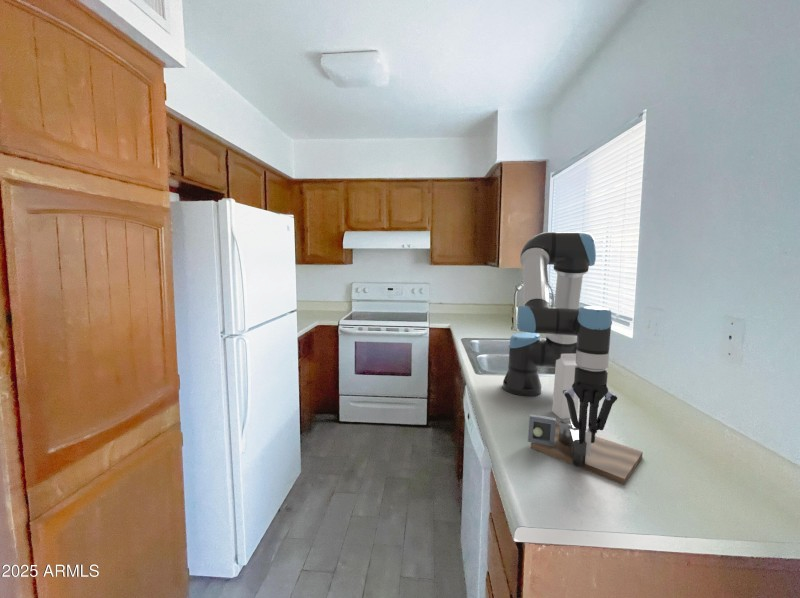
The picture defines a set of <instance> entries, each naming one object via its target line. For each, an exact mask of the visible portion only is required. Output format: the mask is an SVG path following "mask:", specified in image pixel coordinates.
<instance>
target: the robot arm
mask: <svg viewBox="0 0 800 598" xmlns="http://www.w3.org/2000/svg"><path fill="white" fill-rule="evenodd" d="M596 249H597V248H596V242H595V238H594V236H593V234H591V233H590V232H582V231H556V232H555V231H545V232H542V233H539V234H536V235H534V236H532V237H531V238H530V239H529V240H528V241H527V242H526V243H525V244H524V246H523V247H522V250H521V252H520V256H519V257H520V264H521V266H522V267H523V305H521V306H519V307H518V308H517V315H516V316H517V317H516V318H517V319H516V329H517V330H518V331H519V332H518V333H514V334H512V335H511V336H510V338H509V345H508V348H509V349H508V350H509V352H508V353H509V354H508V364H507V365H508V366H507V367H508V368H507V371H506V373H505V376H504V379H503V381H502V389H503V390H504V391H506V392H507V393H511V394H513V395H518V396H524V397H526V396H528V397H534V396H538V395H540V394H541V393H542V383H541V379H540V376H539V367H541V368H550V369H552V368H553V369H555V367H556V360H558V359H560V358H561V354H576V364H577V366H576V367H575V378H574V384H573V385H572V388H571V389H569V390H564V391H563V394H564V396H565V397H566V399H567V403H568V408H569V413H570V417H571V418H570V419H571V422H572V424H573V426H574V427H575V428H576V429H579V436H578V438H579V440H583V441H585V442H586V443H587V448H586V456H590V448H591V443H594V442H595V436H596V434H597V433H598V431H603V430H604V429H605V427H606V424H607V420H608V418H609V415H610V413H611V410H612V406H613V405H614V403H615V402H616V401H617V400H618V396H617V395H615V394H614V392H610V390H609V388H608V385H607V383H608V375H609V374H608V373H609V372H608V368H609V356H610V344H611V334H612V333H611V331H612V325H613V320H612V311H611V310H610V309H609V308H607V307H602V306H595V305H594V306H592V305H591V306H590V305H589V306H588V305H587V306H582V307H580V301H581V300H580V299H581V292H582V285H583V278H584V277H583V276H584V275H585V274H587V273H588V272H589V267H593V266H595V264H596V263H595V262H596V261H597V260H596V259H597V258H596V257H597V256H596V255H597V254H596ZM549 265H552V266H553V271H555V272H556V274H557V275H556V285H555V294H554V303H553V307H552V305H551V297H550V285H549V275H548V266H549ZM541 334H546V337H541ZM574 393H575V394H576V395H577V396H578V398H579V402H578V403H579V407H578V414H576V409H575V404H574V401H573V399H572V398H574ZM602 399H603V402H602V404H601V407H600V409H599V406H600V402H601V400H602ZM588 407H589V410H588ZM588 411H589V412H588ZM598 412H599V413H598ZM578 421H579V422H578ZM587 423H588V424H587ZM587 426H588V427H587Z"/></svg>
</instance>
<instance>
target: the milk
mask: <svg viewBox="0 0 800 598" xmlns="http://www.w3.org/2000/svg"><path fill="white" fill-rule="evenodd" d="M576 366H577V364H576V354H561V358H560V359H558V360H556V367H555V368H554V380H553V381H554V383H553V384H554V385H553V395H552V396H553V397H552V398H553V399H552V409H551V412H553V414H555V416H557V417H558V418H559V419H560V420H565V419H571V417H570V413H569V408H568V403H567V399H566V397H565V396H564V394H563V391H564V390H569V389H571V388H572V385H573V384H574V378H575V367H576ZM572 399H573V401H574V404H575V409H576V414H577V415H579V403H580V402H579V398H578V396H577V395H576V394H575V393H574V398H572Z"/></svg>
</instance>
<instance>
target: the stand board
mask: <svg viewBox="0 0 800 598" xmlns="http://www.w3.org/2000/svg"><path fill="white" fill-rule="evenodd" d="M559 425H560V423H557V422H556V426H555V439H554V447H553V446H548V445H543V444H537V443H532V442H530V449H533V450H534V451H535V450H536V451H538V452H540V453H542V454H545V455H548V456H550V457H553V458H555V459H557V460H560V461H563V462H566V463H568V464H570V465H573V464H572V456H571V453H570V449H569V446H567V445H565V444H563V443H561V442H560V441H559V439H558V438H559ZM643 453H644V452H643V451H641V450H639V449H635V448H632V447H629V446H627V445H626V446H625V445H624V444H620V443H617V442H614V441H611V440H608V439H605V438H602V437H600V436H596V435H595V442H594V443H591V448H590V456H586V459H585V467H579V468H580V469H582V470H586V471H587V472H590V473H594V474H596V475H598V476H601V477H603V478H606V479H608V480H610V481H613V482H616V483H618V484H620V485H623V486H624V485H625V484H626V483H627V481H628V479H629V478H630V477H631V475H632V473H633V472H634V470H635V469H636V467H637V466H638V464H639V463H640V461H641V460H642V458H643ZM573 466H574V465H573Z"/></svg>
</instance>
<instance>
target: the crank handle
mask: <svg viewBox="0 0 800 598" xmlns="http://www.w3.org/2000/svg"><path fill="white" fill-rule="evenodd" d="M578 422H579V420H578ZM559 424H560V425H559V438H558V439H559V441H560V442H561V443H563V444H565V445H567V446H569V449H570V453H571V456H572V464H573V466H575V467H578V468H580V467H585V459H586V448H587V443H586V442H585V441H583V440H579V438H578V436H579V429H576V428H575V427H574V426H573V424H572V422H571V418H570V419H560V421H559ZM572 464H571V465H572Z"/></svg>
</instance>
